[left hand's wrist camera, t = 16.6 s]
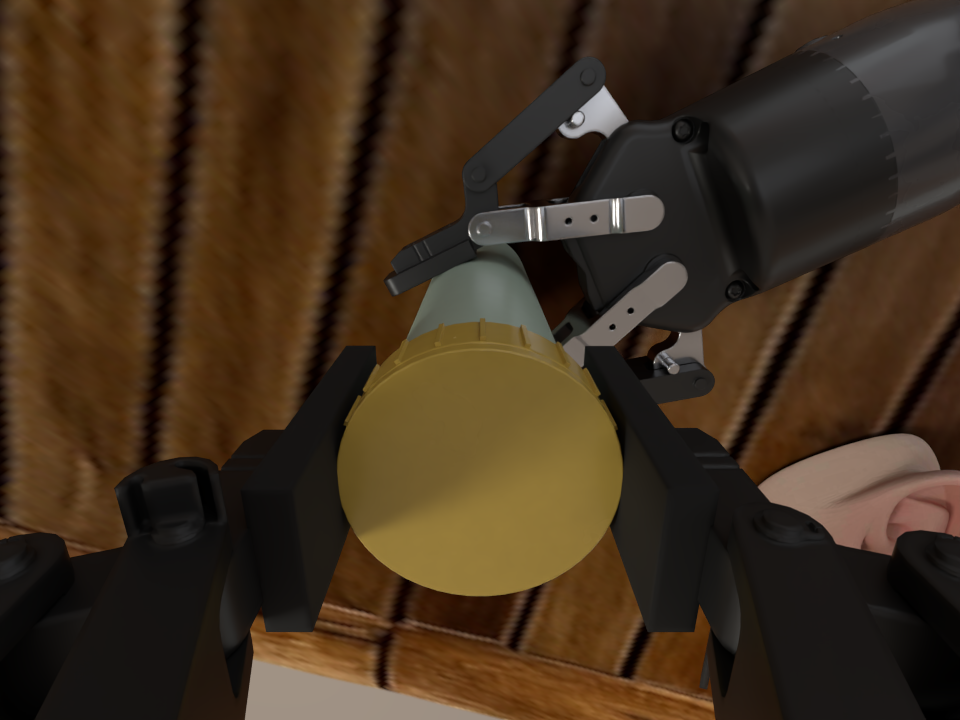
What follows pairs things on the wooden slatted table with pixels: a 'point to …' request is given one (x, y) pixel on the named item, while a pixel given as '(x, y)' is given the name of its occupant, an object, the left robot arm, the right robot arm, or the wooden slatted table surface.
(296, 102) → the wooden slatted table surface
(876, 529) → the anatomical model
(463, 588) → the lid
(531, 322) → the jar
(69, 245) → the wooden slatted table surface
